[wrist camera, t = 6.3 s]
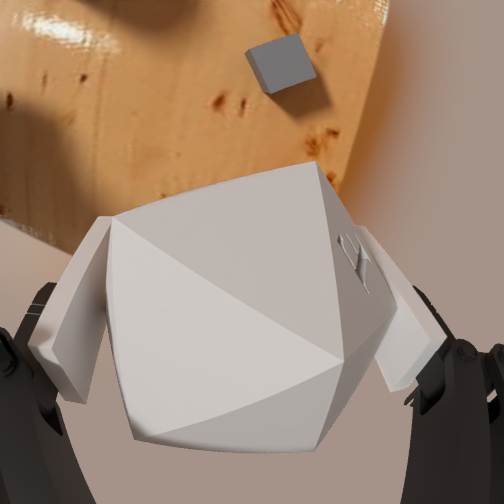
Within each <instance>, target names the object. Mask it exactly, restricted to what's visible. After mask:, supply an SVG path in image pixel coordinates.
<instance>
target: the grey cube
mask: <svg viewBox="0 0 504 504" xmlns="http://www.w3.org/2000/svg"><path fill="white" fill-rule="evenodd" d="M245 55H246V57H247V59H248V61H249V64H250V66H251V68H252V70H253V72H254V74H255V76H256V78H257V80H258V82H259V85H260V87H261V89H262V91H263V92H266V93H269V94H271V93H274V92H277V91H279V90H282V89H284V88H287V87H290V86H293V85H295V84H298V83H301V82H304V81H307V80H310V79H313V78H316V77H317V76H316V73H315V71H314V68H313V66H312V64H311V61H310V59H309V57H308V54H307V52H306V50H305V47H304V45H303V43H302V41H301V39H300V36H299V34H298V33H295V34H292V35H289V36H285V37H282V38H279V39H276V40H273V41H270V42H267V43H265V44H262V45H259V46H256V47H254V48H251V49H249V50H248V51H247V52H245Z"/></svg>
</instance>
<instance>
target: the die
mask: <svg viewBox="0 0 504 504" xmlns="http://www.w3.org/2000/svg"><path fill="white" fill-rule="evenodd" d="M397 309H398V306H397V304H396V302H395V300H394V298H393V296H392V294H391V292H390V290H389V288H388V286H387V284H386V282H385V280H384V278H383V276H382V274H381V272H380V270H379V268H378V266H377V264H376V262H375V260H374V259H373V257H372V255H371V253H370V251H369V249H368V247H367V246H366V244H365V242H364V240H363V238H362V236H361V235H360V233H359V231H358V229H357V228H356V226H355V224H354V222H353V221H352V219H351V217H350V216H349V214H348V212H347V210H346V209H345V207H344V205H343V204H342V202H341V201H340V199H339V197H338V196H337V194H336V192H335V191H334V189H333V187H332V186H331V184H330V183H329V181H328V180H327V178H326V176H325V175H324V173H323V172H322V170H321V169H320V167H319V166H318V164H317V163H316V161H313V162H308V163H303V164H298V165H293V166H288V167H283V168H279V169H274V170H270V171H265V172H261V173H256V174H252V175H248V176H244V177H240V178H235V179H231V180H227V181H223V182H219V183H216V184H212V185H208V186H204V187H200V188H197V189H193V190H190V191H186V192H183V193H180V194H176V195H173V196H170V197H167V198H164V199H161V200H158V201H155V202H152V203H149V204H146V205H143V206H140V207H138V208H135V209H132V210H129V211H126V212H123V213H121V214H118V215H115V216H113V217H112V223H111V231H110V240H109V250H108V261H107V274H106V293H105V313H106V320H107V326H108V333H109V338H110V344H111V350H112V355H113V360H114V364H115V369H116V374H117V378H118V383H119V387H120V391H121V395H122V399H123V402H124V406H125V410H126V414H127V417H128V421H129V424H130V427H131V431H132V434H133V437H134V440H138V441H143V442H149V443H154V444H160V445H166V446H173V447H179V448H187V449H195V450H205V451H217V452H232V453H298V452H314V451H315V449H316V447H317V446H318V445H319V444H320V442H321V441H322V440H323V438H324V437H325V435H326V434H327V433H328V431H329V430H330V428H331V427H332V425H333V424H334V422H335V421H336V419H337V418H338V416H339V415H340V413H341V412H342V410H343V409H344V407H345V405H346V404H347V402H348V401H349V399H350V397H351V396H352V394H353V393H354V391H355V389H356V387H357V386H358V384H359V383H360V381H361V379H362V377H363V376H364V374H365V372H366V370H367V369H368V367H369V365H370V363H371V361H372V360H373V358H374V356H375V354H376V352H377V350H378V348H379V346H380V345H381V343H382V341H383V339H384V337H385V335H386V333H387V331H388V329H389V327H390V324H391V322H392V320H393V318H394V316H395V314H396V312H397Z"/></svg>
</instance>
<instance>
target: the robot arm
mask: <svg viewBox="0 0 504 504" xmlns="http://www.w3.org/2000/svg"><path fill="white" fill-rule="evenodd" d="M112 217H113V216H98V218H97V219H96V221H95V222H94V224H93V225H92V227H91V228H90V230H89V231H88V233H87V234H86V236H85V237H84V239H83V241H82V242H81V244H80V245H79V247H78V249H77V250H76V252H75V253H74V255H73V257H72V258H71V260H70V262H69V264H68V265H67V267H66V269H65V270H64V272H63V274H62V276H61V278H60V279H59V281H58V283H50V282H48V283H47V284H46V285H45V286H44V287H43V288H41V289H40V290H39V291H38V292H37V294H36V296H35V298H34V300H33V302H32V305H30V307H29V309H28V311H27V314H26V315H25V317H24V319H23V320H22V322H21V324H20V327H19V329H18V331H17V333H16V335H15V337H14V339H12V337H11V336H10V334H9V333H8V332H7V330H6V329H5V328H1V327H0V504H96V502H95V500H94V498H93V496H92V494H91V492H90V490H89V487H88V485H87V483H86V481H85V478H84V476H83V474H82V471H81V469H80V467H79V464H78V461H77V459H76V457H75V454H74V451H73V448H72V445H71V443H70V440H69V437H68V434H67V431H66V428H65V424H64V421H63V418H62V414H61V411H60V408H59V406H58V404H57V402H56V397H57V394H58V392H59V393H60V394H61V396H62V397H63V398H64V400H65V401H70V402H76V403H81V404H86V402H87V397H88V393H89V389H90V384H91V380H92V375H93V371H94V367H95V363H96V359H97V355H98V351H99V348H100V344H101V341H102V337H103V333H104V330H105V327H106V323H107V320H106V313H105V293H106V274H107V261H108V250H109V240H110V231H111V223H112ZM355 226H356V228H357V229H358V231H359V233H360V235H361V236H362V238H363V240H364V242H365V244H366V246H367V247H368V249H369V251H370V253H371V255H372V257H373V259H374V260H375V262H376V264H377V266H378V268H379V270H380V272H381V274H382V276H383V278H384V280H385V282H386V284H387V286H388V288H389V290H390V292H391V294H392V296H393V298H394V300H395V302H396V304H397V306H398V309H397V312H396V314H395V316H394V318H393V320H392V322H391V324H390V327H389V329H388V331H387V333H386V335H385V337H384V339H383V341H382V343H381V345H380V346H379V348H378V350H377V352H376V354H375V356H374V357H375V359H376V361H377V363H378V366H379V368H380V370H381V372H382V374H383V377H384V379H385V381H386V383H387V386H388V388H389V390H390V392H394V391H398V390H402V389H405V388H408V386H409V385H410V384H411V383H412V382H413V381H414V379H415V378H416V380H417V382H418V384H419V385H418V386H417V387H416V389H415V390H414V391H413V392H412V393H411V394H410V395H409V396H408V397H407V398H406V400H405V402H404V405H407V404H408V403H409V402H410V401H411V400H412V399H413V398H414V401H413V402H412V403H411V404H410V406H411V407H413V419H412V430H411V440H410V449H409V457H408V465H407V470H406V477H405V483H404V488H403V493H402V498H401V503H400V504H504V345H503V344H495V345H494V347H493V348H492V349H491V350H490V352H489V353H483V352H478V351H477V349H476V348H475V347H474V346H473V345H472V344H471V343H470V342H468V341H466V340H464V339H457V340H456V339H455V337H454V336H453V334H452V333H451V331H450V330H449V328H448V327H447V325H446V324H445V322H444V321H443V319H442V318H441V317H440V315H439V314H438V313H436V309H435V308H434V307H433V305H431V302H430V301H429V300H428V298H427V297H426V296H425V294H424V293H422V292H421V291H420V290H419V289H418V288H417V287H415V286H411V284H410V283H409V281H408V280H407V279H406V277H405V276H404V275H403V274H402V272H401V271H400V270H399V268H398V267H397V266H396V264H395V263H394V262H393V261H392V259H391V258H390V257H389V256H388V254H387V253H386V252H385V251H384V249H383V248H382V247H381V246H380V244H379V243H378V242H377V241H376V240H375V238H374V237H373V236H372V235H371V234H370V232H369V231H368V230H367V229H366V228H365V226H357V225H355ZM494 389H495V390H496V393H497V396H496V397H495V398H494V399H493V400H492V401H491V402H487V396H489V395H490V394H491V392H493V391H494Z"/></svg>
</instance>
